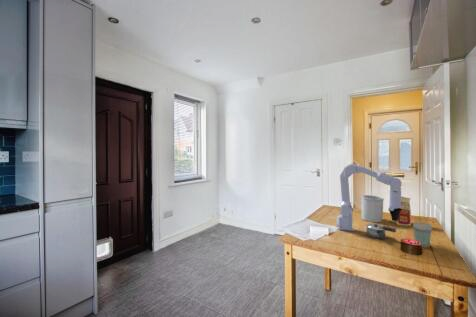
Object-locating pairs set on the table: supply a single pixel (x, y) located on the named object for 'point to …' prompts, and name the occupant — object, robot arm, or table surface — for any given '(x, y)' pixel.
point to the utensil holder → (372, 208)
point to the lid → (380, 227)
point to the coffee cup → (422, 233)
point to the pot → (376, 233)
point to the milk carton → (404, 212)
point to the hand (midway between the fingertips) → (394, 220)
